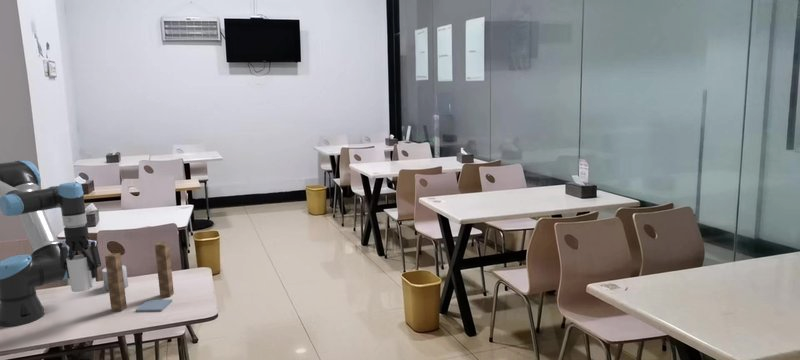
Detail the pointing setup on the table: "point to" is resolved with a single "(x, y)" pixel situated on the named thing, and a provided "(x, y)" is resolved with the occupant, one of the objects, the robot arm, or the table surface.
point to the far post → (164, 269)
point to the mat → (153, 305)
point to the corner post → (115, 281)
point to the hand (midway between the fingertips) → (83, 286)
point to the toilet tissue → (107, 278)
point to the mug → (78, 273)
